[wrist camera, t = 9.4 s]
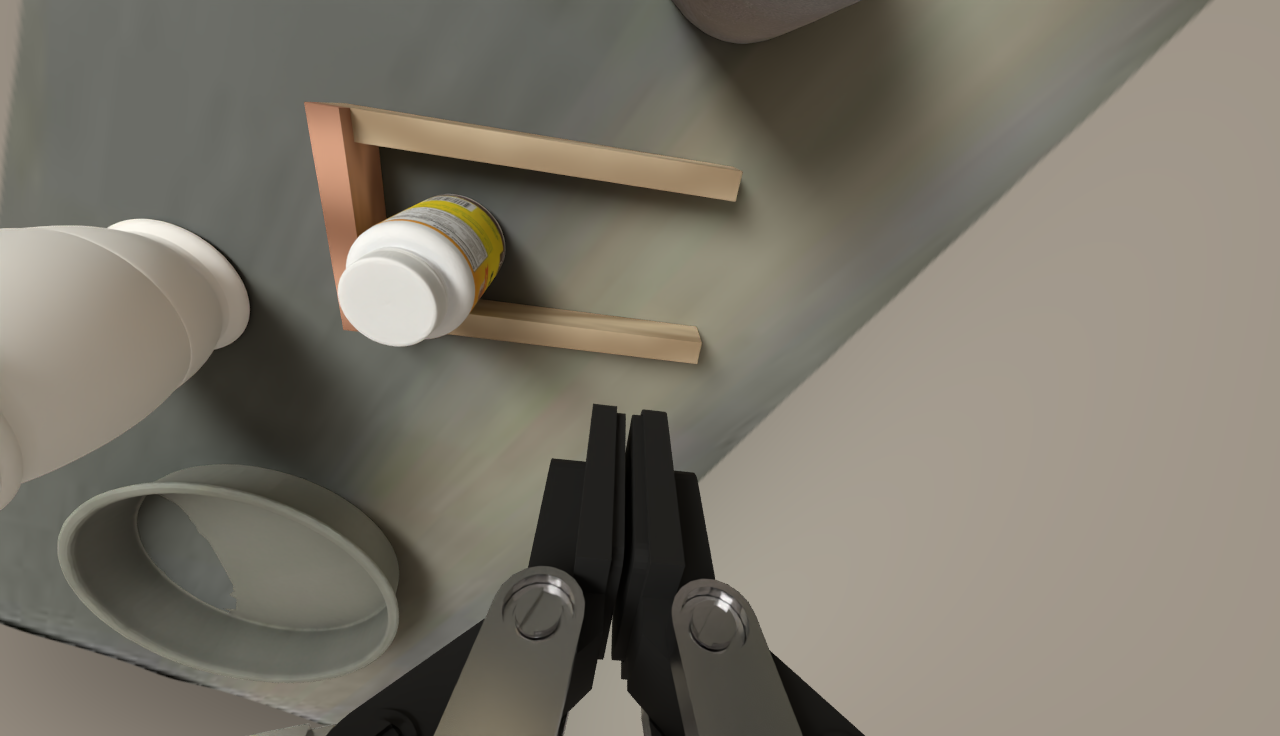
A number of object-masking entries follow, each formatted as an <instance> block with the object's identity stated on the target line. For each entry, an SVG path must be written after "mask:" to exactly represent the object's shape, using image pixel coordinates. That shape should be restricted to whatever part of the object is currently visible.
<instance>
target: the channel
mask: <svg viewBox="0 0 1280 736" xmlns="http://www.w3.org/2000/svg"><path fill="white" fill-rule="evenodd" d="M304 104H305V110H306V116H307V122H308V127H309V133H310V139H311V145H312V150H313V156H314V162H315V168H316V174H317V179H318V185H319V191H320V197H321V203H322V208H323V214H324V220H325V226H326V231H327V237H328V243H329V249H330V255H331V260H332V266H333V272H334V278H335V283H336V289H337V295H338V284H339V281H340V278H341V276H342V274H343V272H344V271H345V270H346V261H347V256H348V253H349V250H350V248H351V246H352V245H353V243H354V242H355V240H356V239H357V238H358V237H359V236H360V235H361V234H362V233H363V232H365V231H366V230H368V229H369V228H371V227H372V226H374V225H376V224H378V223H380V222H382V221H384V220H386V219H387V217H386V208H385V199H384V190H383V181H382V172H381V163H380V154H379V146H382V147H389V148H395V149H402V150H408V151H414V152H421V153H427V154H434V155H440V156H446V157H453V158H459V159H466V160H472V161H478V162H485V163H491V164H498V165H504V166H510V167H517V168H523V169H530V170H536V171H542V172H549V173H555V174H562V175H568V176H575V177H581V178H587V179H594V180H600V181H607V182H613V183H619V184H626V185H632V186H639V187H645V188H651V189H658V190H664V191H671V192H677V193H683V194H690V195H696V196H703V197H709V198H715V199H722V200H728V201H735V202H736V198H737V194H738V189H739V185H740V181H741V177H742V173H743V172H742V171H740V170H738V169H736V168H734V167H731V166H725V165H719V164H713V163H707V162H701V161H695V160H688V159H682V158H676V157H670V156H664V155H658V154H652V153H646V152H640V151H633V150H627V149H621V148H615V147H609V146H603V145H597V144H591V143H585V142H578V141H572V140H566V139H560V138H554V137H548V136H542V135H536V134H530V133H523V132H517V131H511V130H505V129H499V128H493V127H487V126H481V125H475V124H468V123H462V122H456V121H450V120H444V119H438V118H432V117H426V116H420V115H413V114H407V113H401V112H395V111H389V110H383V109H377V108H371V107H365V106H358V105H352V104H346V103H320V102H304ZM338 301H339V298H338ZM339 307H340V312H341V318H342V324H343V330H350V331H358V330H357V329H356V328H355V327H354V326H353V325H352V324H351V323H350V322H349V320H348V319H347V318H346V316H345V315H344V313H343V311H342V309H341V306H340V303H339ZM448 334H451V335H459V336H467V337H476V338H484V339H492V340H501V341H509V342H518V343H526V344H534V345H543V346H551V347H559V348H568V349H576V350H584V351H593V352H601V353H609V354H618V355H626V356H635V357H643V358H651V359H660V360H668V361H676V362H685V363H693V364H697V362H698V357H699V353H700V349H701V345H702V342H701V339H700V336H699V333H698V330H697V327H695V326H687V325H679V324H671V323H663V322H655V321H648V320H640V319H632V318H624V317H616V316H608V315H601V314H593V313H585V312H577V311H569V310H561V309H554V308H546V307H538V306H530V305H522V304H515V303H507V302H499V301H491V300H483V299H479V301H478V302H477V303H476V305H475V306H474V308H473V309H472V311H471V312H470V313H469V315H468V316H467V318H466V319H465V320H464V321H463V322H462V324H461V325H460V326H458V327H457V328H456V329H455V330H453V331H452V332H450V333H448Z"/></svg>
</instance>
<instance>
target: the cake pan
mask: <svg viewBox="0 0 1280 736" xmlns="http://www.w3.org/2000/svg"><path fill="white" fill-rule="evenodd" d="M150 494H158V495H160V496H162V497H164V498H166V499H168V500H170V501H172V502H173V503H175V504H177V505H178V506H179V507H180V508H181V509H182V510H183V511H184V512H185V513H186V514H187V515H188V516H189V518H190V521H192V522H193V523H194V524H195V525H196V527H197V530H198V532H199V533H200V534H201V535H202V536H204V537H205V538H206V539H207V540H208V541H209V543H210V544H211V546H212V548H213V550H214V551H215V553H216V555H217V556H218V558H219V560H220V562H221V564H222V566H223V567H224V569H225V571H226V573H227V575H228V577H229V578H230V580H231V582H232V584H233V586H234V587H233V590H234V591H233V592H232V593H231V594H230V595H231V596H232V597H234V598H236V599H237V602H236V609H225V610H228V611H230V612H229V613H228V612H226V611H223V610H220V609H218V608H215V607H213V606H211V605H209V604H207V603H205V602H203V601H201V600H199V599H198V598H196V597H195V596H193V595H191V594H190V593H188V592H187V591H185V590H184V589H183V588H181V587H180V586H178V585H177V584H176V583H174V582H173V581H172V580H171V579H169V578H168V577H167V576H166V574H165V572H164V571H162V570H160V569H159V568H158V567H157V566H156V564H155V563H154V562H153V561H152V560H151V558H150V557H149V555H148V554H147V552H146V550H145V548H144V546H143V545H142V543H141V540H140V536H139V532H138V527H137V516H138V511H139V508H140V506H141V504H142V502H143V500H144V499H145V497H146V496H147V495H150ZM57 550H58V558H59V563H60V566H61V568H62V571H63V574H64V576H65V578H66V580H67V582H68V583H69V585H70V587H71V588H72V589H73V591H74V592H75V593H76V595H77V596H78V597H79V599H80V600H81V601H82V602H83V603H84V604H85V605H86V606H87V607H88V608H89V609H90V610H91V611H92V612H93V613H94V614H95V615H96V616H97V617H98V618H100V619H101V620H102V621H103V622H105V623H106V624H107V625H109V626H110V627H111V628H113V629H114V630H116V631H117V632H119V633H120V634H121V635H123V636H124V637H126V638H128V639H130V640H131V641H133V642H135V643H137V644H139V645H140V646H142V647H144V648H146V649H148V650H150V651H152V652H154V653H156V654H158V655H161V656H163V657H165V658H168V659H170V660H173V661H175V662H178V663H180V664H183V665H186V666H189V667H192V668H195V669H198V670H202V671H206V672H209V673H213V674H217V675H222V676H226V677H231V678H237V679H243V680H251V681H259V682H271V683H304V682H314V681H321V680H326V679H331V678H336V677H340V676H343V675H346V674H349V673H352V672H354V671H357V670H359V669H361V668H363V667H365V666H367V665H369V664H370V663H372V662H373V661H375V660H376V659H377V658H379V657H380V656H381V655H382V654H383V653H384V652H385V651H386V650H387V649H388V647H389V646H390V645H391V643H392V641H393V640H394V638H395V635H396V633H397V629H398V625H399V608H398V602H397V598H396V591H397V587H398V582H399V566H398V560H397V557H396V554H395V552H394V550H393V548H392V546H391V544H390V542H389V540H388V539H387V538H386V536H385V535H384V534H383V532H382V531H381V530H380V529H379V527H378V526H377V525H376V524H375V523H374V522H373V521H372V520H371V519H370V518H369V517H368V516H366V515H365V514H364V513H363V512H362V511H360V510H359V509H358V508H357V507H355V506H354V505H352V504H351V503H350V502H348V501H346V500H345V499H343V498H342V497H340V496H338V495H337V494H335V493H333V492H331V491H329V490H327V489H326V488H324V487H321V486H319V485H317V484H315V483H312V482H310V481H307V480H305V479H302V478H299V477H296V476H293V475H290V474H287V473H283V472H279V471H275V470H271V469H266V468H260V467H255V466H246V465H233V464H216V465H203V466H196V467H191V468H187V469H183V470H179V471H176V472H173V473H171V474H169V475H167V476H165V477H162V478H160V479H158V480H156V481H154V482H151V483H142V484H136V485H130V486H126V487H121V488H118V489H114V490H111V491H107V492H105V493H102V494H100V495H97V496H95V497H93V498H91V499H89V500H88V501H86V502H85V503H83V504H82V505H81V506H79V507H78V508H77V509H76V510H75V511H74V512H73V513H72V514H71V515H70V516H69V517H68V518H67V520H66V521H65V522H64V524H63V526H62V529H61V531H60V534H59V537H58V544H57Z"/></svg>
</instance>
